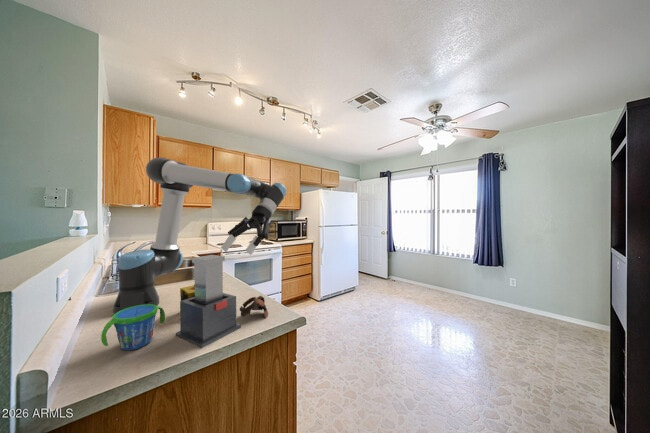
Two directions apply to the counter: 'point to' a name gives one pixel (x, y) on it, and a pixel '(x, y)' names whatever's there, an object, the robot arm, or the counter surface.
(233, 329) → the sleeve
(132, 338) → the snack cup
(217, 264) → the column
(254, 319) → the counter surface
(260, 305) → the brown curved open arch
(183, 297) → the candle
